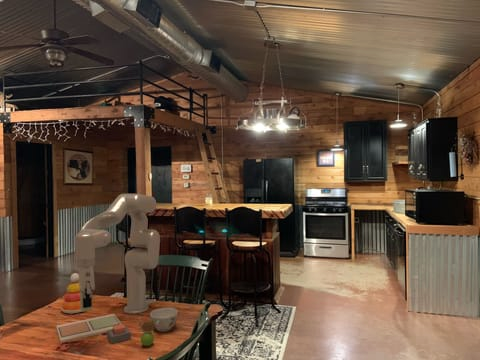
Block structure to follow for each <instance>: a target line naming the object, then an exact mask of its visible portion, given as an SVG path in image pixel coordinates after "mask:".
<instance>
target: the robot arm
mask: <svg viewBox="0 0 480 360" xmlns="http://www.w3.org/2000/svg"><path fill="white" fill-rule="evenodd" d="M156 209H157V201H156V198H155V197H153V196H150V195H147V194H141V193H121V194H119V195H118V196H117V197H116V198H115V199H114V201H113V202H112V203H111V204H110V205H109V207H108V208H107V209H106V210H105V211H104V212H101V213H100V214H98V215H96V216H94V217H92V218H90V219H89V220H88V221H87V222H85V223H84V225H83V226H82V227H81V228H80V230H79V231H78V233H76V235H75V237H74V254H75V268H76V269H78V274H79V281H78V282H79V286H80V288H81V290H82V291H83V294H84V298H83V308H88V307H91V306H92V307H93V299H92V300H91V289H92V291H95V289H96V286H95V273H94V266H96V249H97V248H104V247H107V246H108V245H109V244H110V243H111V240H112V234H111V233H110V232H109V231H108V230H105V229H106V228H109V227H113V226H116V225H118V224H120V223H121V222H122V221H123V219H124V218H125V216H126V215H127V214H129V216H130V219H131V225H130V234H129V243H130V246H132V247H135V248H145V249H131V250H128V251H127V252H126V253H125V255H124V265H125V271H126V306H125V307H124V308H123V311H124V313H126V314H141V313H144V312H146V311H148V310H149V305H151V304H155V303H156V301H155V299H151V298H149V299H147V296H146V295H147V294H146V289H147V288H146V279H147V278H146V273H145V271H144V270H153V269H156V268H157V265H158V262H159V255H160V245H161V244H160V243H161V235H160V233H159V232H158V231H157V230H156V229H148V227H149V226H148V221H149V219H148V217H147V214H146V213H153V212H154V211H155V210H156ZM146 248H147V249H146ZM85 289H86V291H85ZM85 292H87V293H86V294H85Z"/></svg>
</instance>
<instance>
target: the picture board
mask: <svg viewBox="0 0 480 360" xmlns="http://www.w3.org/2000/svg"><path fill="white" fill-rule="evenodd" d="M120 324H122V323H121V321H120V320H119V318H118V317H117V316H116V314H115V313H111V314H107V315H100V316H96V317H91V318H87V319H82V320H77V321H72V322H67V323H63V324H58V325H56V331H57V335H58V340H59V342H60V344H62V343H67V342H71V341H74V340H81V339H84V338H87V337H88V338H89V337H92V336H97V335H101V334H105V333H107V330H110V329H113V326H115V325H120Z"/></svg>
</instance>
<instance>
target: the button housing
mask: <svg viewBox="0 0 480 360" xmlns="http://www.w3.org/2000/svg"><path fill="white" fill-rule="evenodd" d="M124 326H125V333H120V334H116V335H114V333H113V329H110V330H107V332H106V333H107V335H106V336H107V338H108V340H109V342H110V344H111V345H114V344H118V343H122V342H126V341H130V340H131V339H132V332H131V331H130V329H129V328H128V327H127V325H124Z"/></svg>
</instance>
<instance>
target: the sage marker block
mask: <svg viewBox="0 0 480 360" xmlns="http://www.w3.org/2000/svg"><path fill="white" fill-rule="evenodd" d="M85 291H86V289H85ZM86 293H87V292H85V294H86ZM83 298H84V294H83V291H82V290H81V288H80V302H81V311H82V313H83V312H89V311H93V305H92V306H91V307H88V308H83ZM91 300H92V301H93V290H92V289H91Z"/></svg>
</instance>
